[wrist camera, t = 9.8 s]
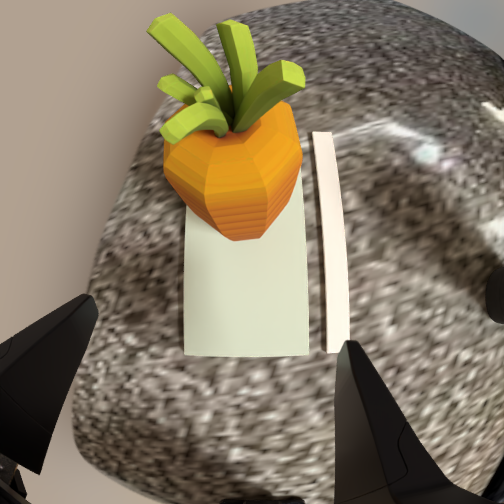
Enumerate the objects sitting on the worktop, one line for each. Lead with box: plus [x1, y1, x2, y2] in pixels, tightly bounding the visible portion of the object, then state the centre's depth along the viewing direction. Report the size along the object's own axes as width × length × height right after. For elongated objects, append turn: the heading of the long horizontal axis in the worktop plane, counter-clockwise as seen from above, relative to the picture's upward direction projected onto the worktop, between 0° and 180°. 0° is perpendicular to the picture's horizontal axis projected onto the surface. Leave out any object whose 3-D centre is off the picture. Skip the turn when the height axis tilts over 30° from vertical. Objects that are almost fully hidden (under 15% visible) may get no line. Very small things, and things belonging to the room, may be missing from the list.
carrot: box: [146, 13, 305, 241], centre depth 12 cm, size 5×5×15 cm
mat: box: [184, 168, 309, 357], centre depth 19 cm, size 16×8×1 cm, turn 1°
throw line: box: [312, 132, 350, 353], centre depth 19 cm, size 16×2×1 cm, turn 1°
